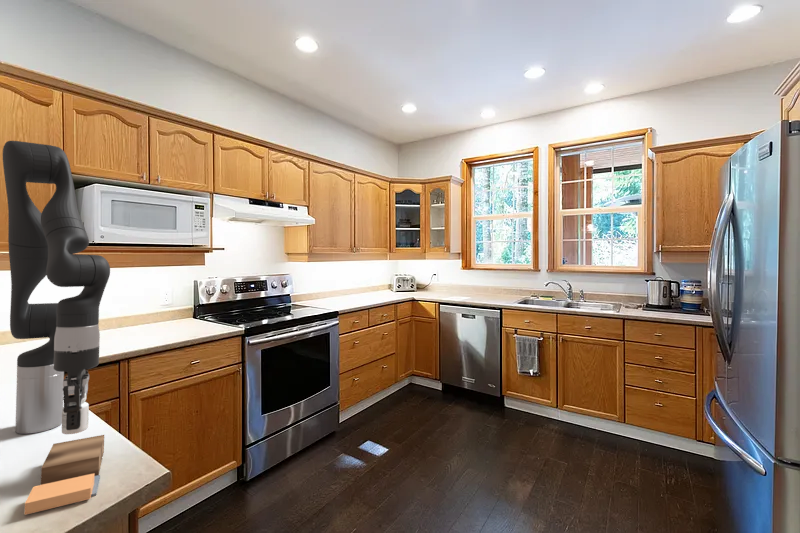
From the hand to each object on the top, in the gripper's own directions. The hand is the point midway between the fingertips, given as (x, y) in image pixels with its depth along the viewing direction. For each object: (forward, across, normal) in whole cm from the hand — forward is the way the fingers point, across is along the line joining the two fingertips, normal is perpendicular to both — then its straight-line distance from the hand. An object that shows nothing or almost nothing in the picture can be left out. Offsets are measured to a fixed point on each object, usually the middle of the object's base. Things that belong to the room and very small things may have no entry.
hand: (75, 424), depth 82 cm
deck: (+10, 0, 0) cm, 10 cm away
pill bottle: (+2, 0, 0) cm, 2 cm away
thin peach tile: (+7, +13, 0) cm, 15 cm away
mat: (+10, +10, +1) cm, 14 cm away
